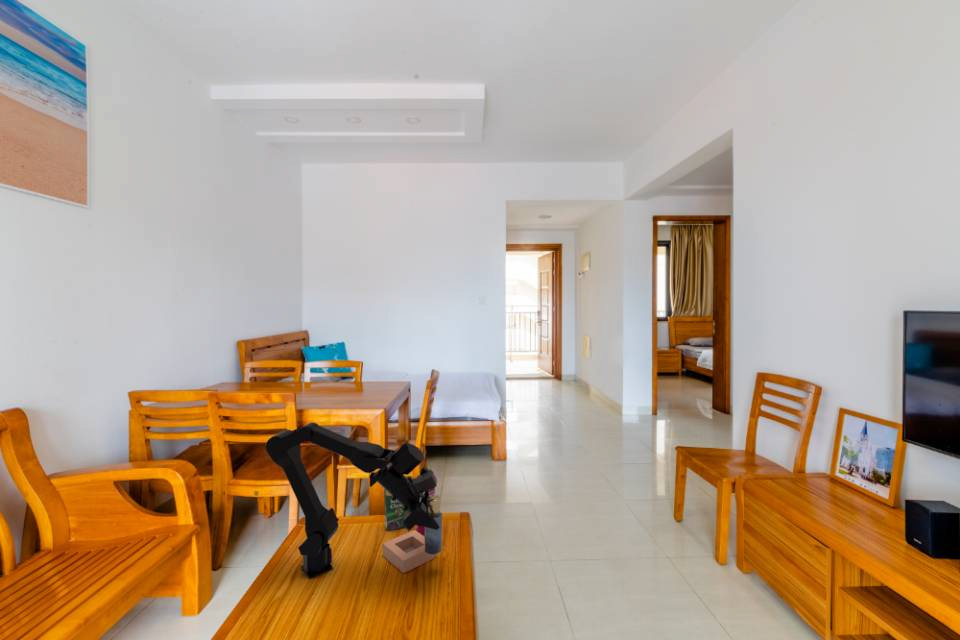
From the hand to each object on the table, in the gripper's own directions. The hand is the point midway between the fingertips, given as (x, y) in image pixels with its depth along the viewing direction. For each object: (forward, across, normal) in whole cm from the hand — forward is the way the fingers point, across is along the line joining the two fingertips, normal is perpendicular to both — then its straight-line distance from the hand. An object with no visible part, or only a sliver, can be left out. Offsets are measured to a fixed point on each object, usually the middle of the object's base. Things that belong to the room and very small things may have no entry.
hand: (438, 523), depth 118 cm
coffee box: (0, +24, +19) cm, 31 cm away
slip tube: (+4, 0, +6) cm, 7 cm away
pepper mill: (+7, +21, +12) cm, 26 cm away
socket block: (+4, +8, +15) cm, 18 cm away
